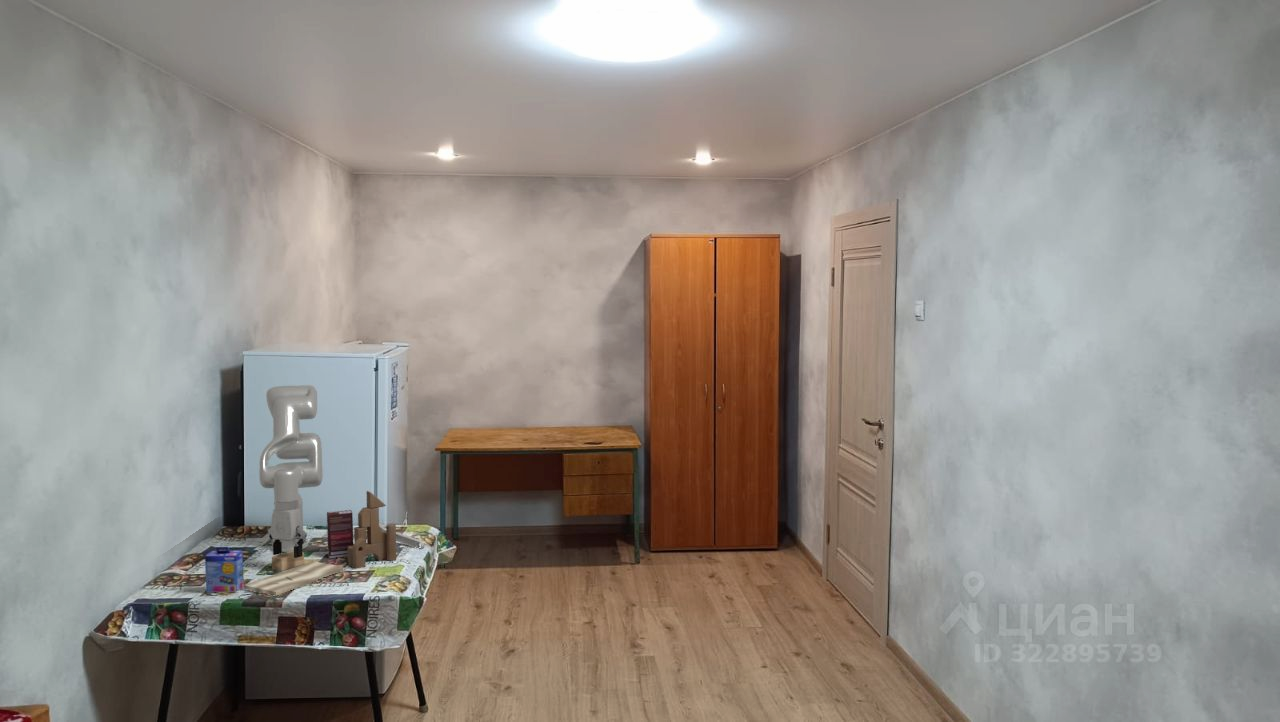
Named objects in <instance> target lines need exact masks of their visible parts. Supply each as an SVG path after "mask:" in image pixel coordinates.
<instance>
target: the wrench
mask: <svg viewBox="0 0 1280 722" xmlns="http://www.w3.org/2000/svg"><path fill="white" fill-rule="evenodd" d="M379 528H380V530H381V531H382V532H386V527H385V526H384V525H383V524H382V523H381V522H379ZM396 542H398V543H401V544H403V545H407V546H409V547H411V546H412V547H411V548H414V547H416V548H415V549H417V548H419V547H421V548H420V549H419V550H422V549H424V548H425V546H426V545H425V542H424V541H423V540H421V539H419V538H415V537H412V536H409V535H407V534H404V533H400V532H397V531H396Z"/></svg>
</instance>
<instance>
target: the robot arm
mask: <svg viewBox="0 0 1280 722" xmlns="http://www.w3.org/2000/svg"><path fill="white" fill-rule="evenodd" d="M265 396H266V404H267V407H268V409H269V412H270V415H271V416H272V419H273V421H272V422H273V429H272V433H273V436H272V439H271V440H270V442H269V443H268V444H267V445H266V446H265V447H264V449H263V450H262V453H260V454H261V455H260V459H259V483H260V486H262V487H263V488H264V489H273V496H274V497H273V498H274V504H273V505H274V509H273V510H272V514H271V523H270V526H271V527H270V528H268V529H267V533H268V535H269V536H268V537H269V540H271V541H270V542H271V544H272V545H271V547H270V548H271V550H272V554H273V556H276V555H280V554H283V553H286V552H290V551H293V550H294V558H298V557H301V556H303V552H304V551H303V550H304V549H306V548H308V546H309V544H308V541H306V540H307V537H308V532H306V531H305V530H304V510H303V498H302V496H301V495H300V493H299V489H305V488H314V487H315V488H316V487H319V486H320V485H321V484H322V482H323V452H322V451H323V450H322V441H321V437H320V436H319V434H317V433H316V432H303V433H302V432H300V431H301V430H300V420H301V421H302V420H312V419H315V418H316V417H317V414H318V391H317V389H316V387H315V386H313V385H309V384H308V385H307V384H305V385H304V384H303V385H301V384H300V385H279V386H273V387H270V388H269V389H268V390H267V391H266V395H265ZM274 454H276V457H277V458H278V459H280V460H284V461H285V460H304V459H307V460H308V461H294V462H293V461H291V462H282V463H277V464H276V465H271V466H270V465H269V461H270V459H271V458H272V456H273V455H274Z"/></svg>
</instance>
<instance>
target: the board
mask: <svg viewBox="0 0 1280 722" xmlns="http://www.w3.org/2000/svg"><path fill="white" fill-rule="evenodd" d="M341 571H342V572H344V566H342V565H341V566H340V565H336V564H335V565H334V564H329V563H324V562H319V561H313V560H312V561H309V562H306V563H304V564H303V565H300V566H298V567H295V568H292V569H289V570H286V571H283V572H280V573H279V572H277V573H276V574H272V575H270V576H266V577H264V578H260V579H258V580H254V581H252V582H249V583H246V584H244V588H243V590H244V589H248V590H252V591H257V592H262V593H267V594H270V595H275V596H277V595H279V594H282V593H284V592H287V591H290V590H292V591H294V590H293V589H295V588H298V587H300V588H303V587H305V586H304V585H306V586H308V585H310V584H309V583H311V582H313V583H315V582H314V581H316V580H318V579H321V578H323V577H326V576H329V575H332V574H335V573H337V574H339V573H338V572H340V573H342V572H341ZM335 575H336V574H335ZM332 576H333V575H332ZM329 577H330V576H329ZM321 580H322V579H321ZM316 582H317V581H316ZM307 584H308V585H307ZM311 584H312V583H311ZM302 586H303V587H302ZM298 589H299V588H298ZM295 590H296V589H295ZM252 591H251V592H252ZM290 592H291V591H290ZM287 593H288V592H287ZM284 594H285V593H284ZM270 595H269V596H270ZM282 595H283V594H282ZM275 596H274V597H275ZM279 596H280V595H279ZM277 597H278V596H277Z"/></svg>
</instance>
